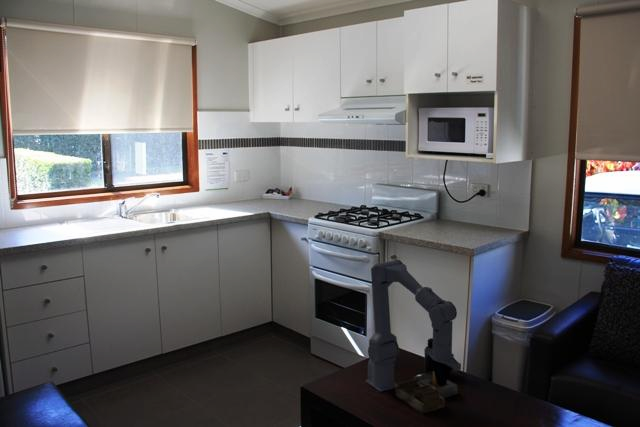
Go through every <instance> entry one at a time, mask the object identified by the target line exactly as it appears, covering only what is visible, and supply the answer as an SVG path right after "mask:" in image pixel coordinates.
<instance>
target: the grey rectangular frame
mask: <svg viewBox="0 0 640 427" xmlns="http://www.w3.org/2000/svg"><path fill="white" fill-rule="evenodd" d="M414 378H416V379H417V382H418V383H420V384H422V385H423V386H425V385H429V387H431V388H433V389H434V390H437V391H438V392H439V395H440V396H441V397H443V398H445V399H446V398H449V397H453V396H455V395H457V394H458V385H457V384H456V383H454V382H452V381H451V380H448V379H447V382H446V385H444V386H441V387H438V388H436V387H435V386H433V372H432V371H431V372H427V373H426V372H424V373H420V374H416V375H413V378H412V379H414Z"/></svg>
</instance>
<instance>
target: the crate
mask: <svg viewBox="0 0 640 427" xmlns="http://www.w3.org/2000/svg"><path fill="white" fill-rule="evenodd" d="M415 399H417V400H418V401H420V402H421V403H423V404H424V405H425V409H426V410H427V409H430V408H434V407H437V406H439V392H438V391H437V390H434V389H433V388H431V387H429V385H425V386H422V387H418V388H415Z"/></svg>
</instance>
